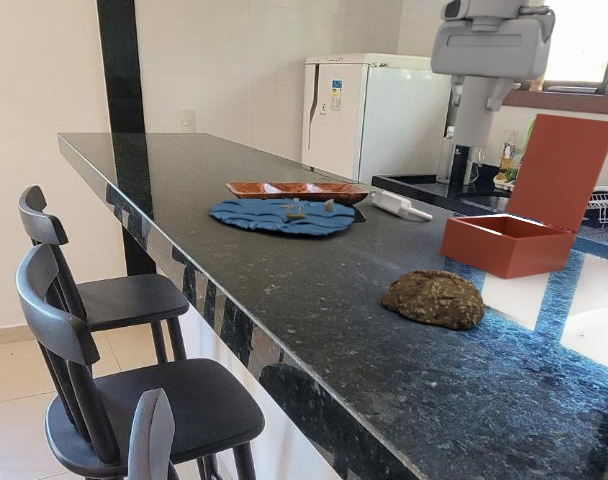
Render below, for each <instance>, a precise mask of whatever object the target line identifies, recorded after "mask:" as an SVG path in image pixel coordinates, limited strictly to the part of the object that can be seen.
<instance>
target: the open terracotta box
mask: <svg viewBox="0 0 608 480" xmlns="http://www.w3.org/2000/svg"><path fill="white" fill-rule="evenodd" d="M575 235H576V234H574V233H570V232H567V231H563V230H560V229H556V228H552V227H549V226H545V225H542V224H540V223H538V222H535V221H531V220H527V219H524V218H520V217H516V216H513V215H510V214H492V215H491V214H490V215H475V216H473V215H472V216H458V217H447V218H446V222H445V226H444V230H443V236H442V240H441V245H440V249H439V255H441V256H444V257H446V258H449V259H452V260H454V261H457V262H459V263H462V264H465V265H466V266H469V267H472V268H473V269H474V268H475V269H477V270H480V271H482V272H485V273H488V274H490V275H492V276H495V277H498V278H501V279H503V280H511V279H517V278H524V277H530V276H537V275H542V274H549V273H554V272H559V271H560V272H561V271H564V270H565V267H566V264H567V262H568V258H569V255H570V252H571V249H572V248H573V246H572V244H573V241H574V238H575ZM574 242H575V241H574ZM573 245H574V244H573ZM571 247H572V248H571Z"/></svg>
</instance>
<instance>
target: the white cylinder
mask: <svg viewBox="0 0 608 480" xmlns="http://www.w3.org/2000/svg"><path fill="white" fill-rule="evenodd" d="M497 81H498V78H487V77H473V76H465V79H464V83H463V84H462V86H463V88H462V93H461V98H460V103H459V107H457V113H456V118H455V123H454V127H453V133H452V137H451V142H450V143H451V144H452V145H455V146H461V147H468V148H478V149H486V148H488V144H489V139H490V135H491V131H492V126H493V122H494V117H495V113H496V111H488V110H486V105H487V100H488V98H492V97H493V96H494V94H495V93H496V91H497V89H498V88H499V86H497Z"/></svg>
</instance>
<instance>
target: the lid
mask: <svg viewBox="0 0 608 480" xmlns="http://www.w3.org/2000/svg"><path fill="white" fill-rule="evenodd" d="M607 156H608V120H601V119H600V120H599V119H591V118H584V117H575V116H574V117H573V116H566V115H565V116H564V115H556V114H546V113H538V112H537V113H536V115H535V117H534V122H533V125H532V128H531V131H530V134H529V138H528V141H527V144H526V147H525V150H524V153H523V157H522V159H521V163H520V166H519V169H518V172H517V175H516V179H515V182H514V184H513V187H512V190H511V191H512V192H511V194H510V198H509V201H508V204H507V207H506V210H505V212H506V213H508V214H512V215H516V216H520V217H524V218H526V219H527V218H528V219H530V220H534V221H538V222H545V223H548V224H552V225H555V226H559V227H563V228H566V229H570V230H573V231H578V232H579V230H580V227H581V224H582V222H583V219H584V217H585V213H586V211H587V209H588V206H589V204H590V201H591V198H592V195H593V193H594V191H595V187H596V185H597V183H598V180H599V177H600V174H601V172H602V169H603V166H604V163H605V161H606V158H607Z"/></svg>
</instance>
